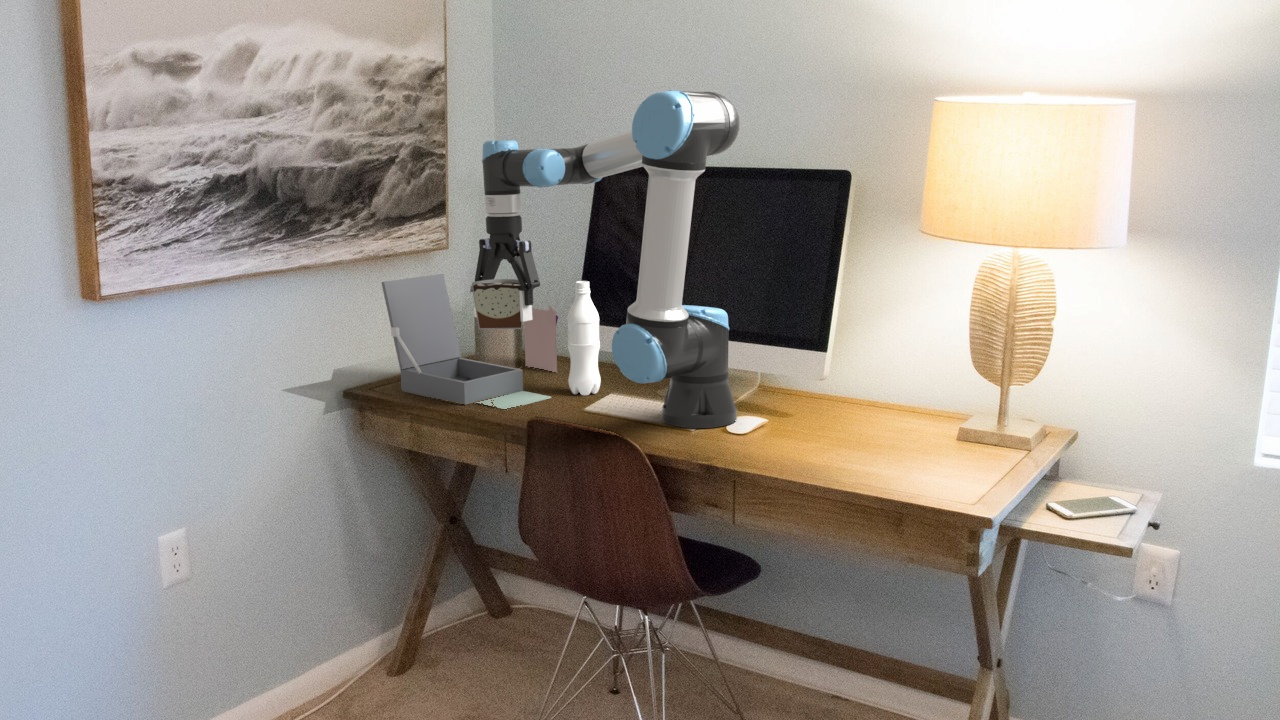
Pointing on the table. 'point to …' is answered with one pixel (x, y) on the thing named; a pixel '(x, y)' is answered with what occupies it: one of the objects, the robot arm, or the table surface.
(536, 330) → the greeting card
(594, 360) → the water bottle
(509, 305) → the food container
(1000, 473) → the table surface
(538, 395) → the mat
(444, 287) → the case
